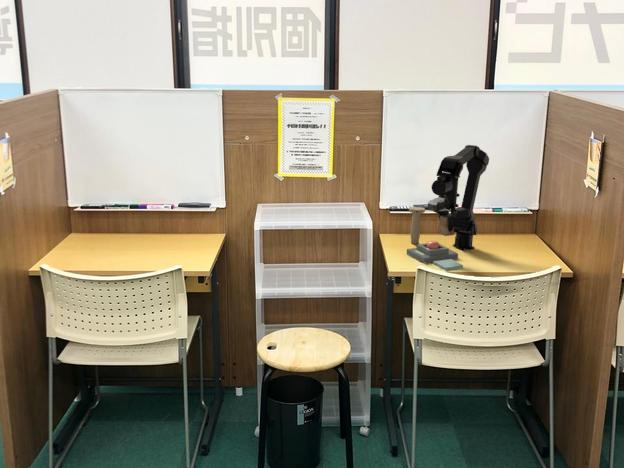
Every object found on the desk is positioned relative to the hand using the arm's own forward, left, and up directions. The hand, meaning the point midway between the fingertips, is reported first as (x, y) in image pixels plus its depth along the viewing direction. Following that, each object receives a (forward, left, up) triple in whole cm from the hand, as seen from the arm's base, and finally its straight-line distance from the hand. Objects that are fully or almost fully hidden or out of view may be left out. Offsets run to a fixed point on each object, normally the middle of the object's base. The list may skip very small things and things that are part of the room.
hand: (446, 230), depth 261 cm
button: (+3, -4, -10) cm, 11 cm away
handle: (0, -21, -12) cm, 24 cm away
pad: (+4, +8, -12) cm, 14 cm away
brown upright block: (0, 0, -2) cm, 2 cm away
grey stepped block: (+3, -4, -12) cm, 13 cm away
